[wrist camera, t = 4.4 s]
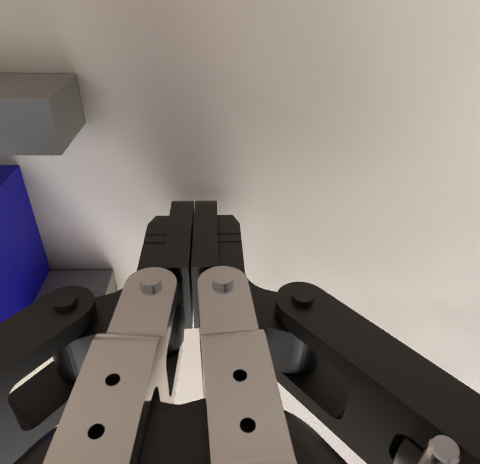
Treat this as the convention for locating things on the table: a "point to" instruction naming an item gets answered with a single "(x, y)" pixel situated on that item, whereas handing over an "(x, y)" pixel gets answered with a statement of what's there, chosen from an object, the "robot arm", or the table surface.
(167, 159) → the table surface
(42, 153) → the grey u-shaped bracket
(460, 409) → the robot arm
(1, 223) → the blue u-shaped block
